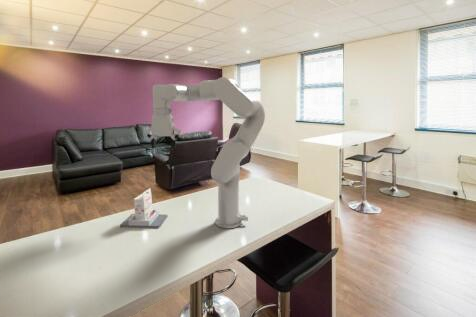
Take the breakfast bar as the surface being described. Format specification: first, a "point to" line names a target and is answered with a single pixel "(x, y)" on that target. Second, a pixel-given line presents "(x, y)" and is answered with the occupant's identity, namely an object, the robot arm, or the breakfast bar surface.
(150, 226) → the board
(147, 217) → the ink cartridge box
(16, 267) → the breakfast bar surface
